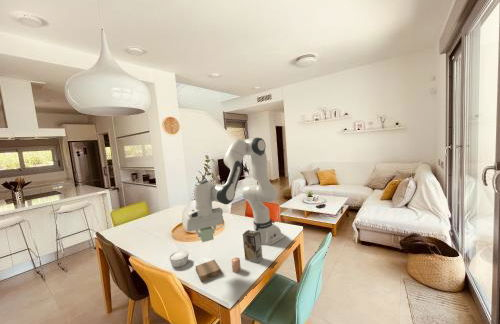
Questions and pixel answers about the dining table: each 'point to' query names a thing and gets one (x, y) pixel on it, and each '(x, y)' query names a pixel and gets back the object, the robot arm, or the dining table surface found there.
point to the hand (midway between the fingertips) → (206, 235)
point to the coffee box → (252, 246)
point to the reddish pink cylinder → (236, 265)
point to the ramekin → (179, 258)
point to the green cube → (206, 234)
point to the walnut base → (208, 270)
